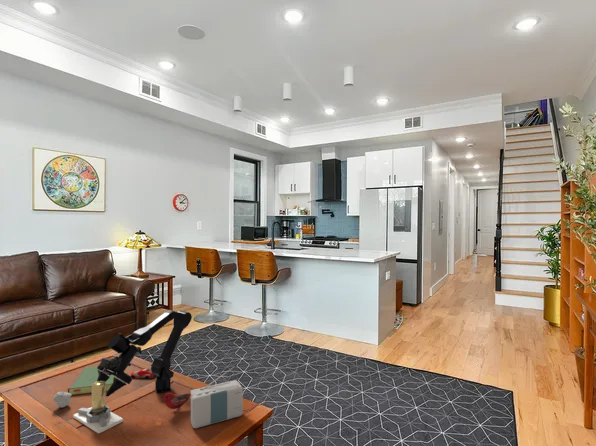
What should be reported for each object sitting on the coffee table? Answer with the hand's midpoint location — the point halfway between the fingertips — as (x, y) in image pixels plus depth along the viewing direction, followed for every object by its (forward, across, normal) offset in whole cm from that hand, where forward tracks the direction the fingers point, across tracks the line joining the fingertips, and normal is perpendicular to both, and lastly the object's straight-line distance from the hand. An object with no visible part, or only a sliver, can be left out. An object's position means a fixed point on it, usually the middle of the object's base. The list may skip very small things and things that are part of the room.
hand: (100, 393), depth 149 cm
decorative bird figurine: (-8, +22, +24) cm, 34 cm away
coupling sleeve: (+8, 0, +6) cm, 10 cm away
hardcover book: (-3, -35, +20) cm, 41 cm away
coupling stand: (+8, 0, +7) cm, 11 cm away
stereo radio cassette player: (-11, +41, +27) cm, 50 cm away
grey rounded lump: (+11, -23, +5) cm, 26 cm away
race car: (-15, -21, +32) cm, 41 cm away
